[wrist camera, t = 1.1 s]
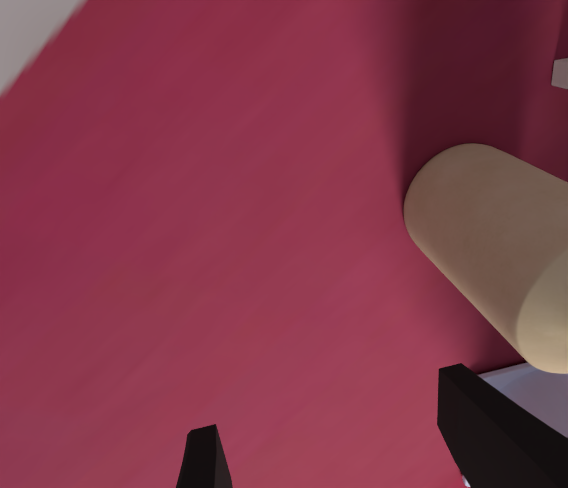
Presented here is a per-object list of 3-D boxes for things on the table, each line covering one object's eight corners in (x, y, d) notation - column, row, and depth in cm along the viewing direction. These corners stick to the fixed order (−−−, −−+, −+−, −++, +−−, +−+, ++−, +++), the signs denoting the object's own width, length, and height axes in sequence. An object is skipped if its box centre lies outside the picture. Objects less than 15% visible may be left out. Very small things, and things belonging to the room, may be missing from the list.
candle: (535, 189, 23) (755, 310, 14) (449, 273, 24) (604, 431, 16) (468, 115, 21) (683, 205, 12) (377, 212, 22) (511, 357, 13)
